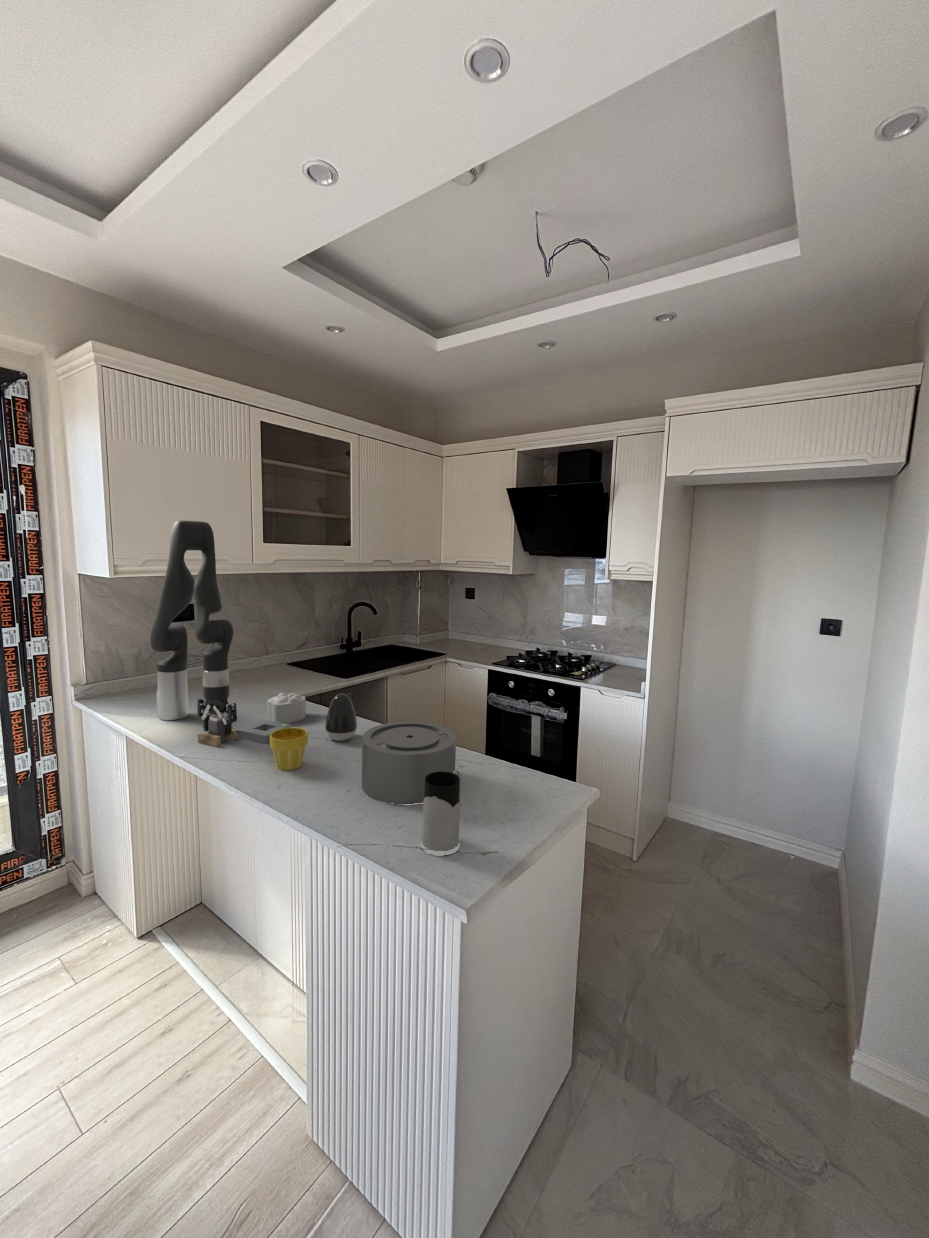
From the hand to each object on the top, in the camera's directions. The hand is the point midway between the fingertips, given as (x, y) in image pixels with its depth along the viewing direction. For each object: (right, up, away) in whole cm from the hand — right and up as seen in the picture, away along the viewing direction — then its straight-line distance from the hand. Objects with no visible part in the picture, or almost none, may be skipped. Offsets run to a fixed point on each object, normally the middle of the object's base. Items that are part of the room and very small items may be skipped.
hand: (217, 732), depth 167 cm
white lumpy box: (+14, 0, +25) cm, 28 cm away
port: (+12, -2, +7) cm, 14 cm away
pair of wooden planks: (0, -3, 0) cm, 3 cm away
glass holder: (+74, -12, -51) cm, 91 cm away
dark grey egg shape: (+38, -3, +6) cm, 39 cm away
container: (+63, -9, -25) cm, 69 cm away
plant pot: (+28, -6, -17) cm, 34 cm away
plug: (0, -3, 0) cm, 3 cm away
